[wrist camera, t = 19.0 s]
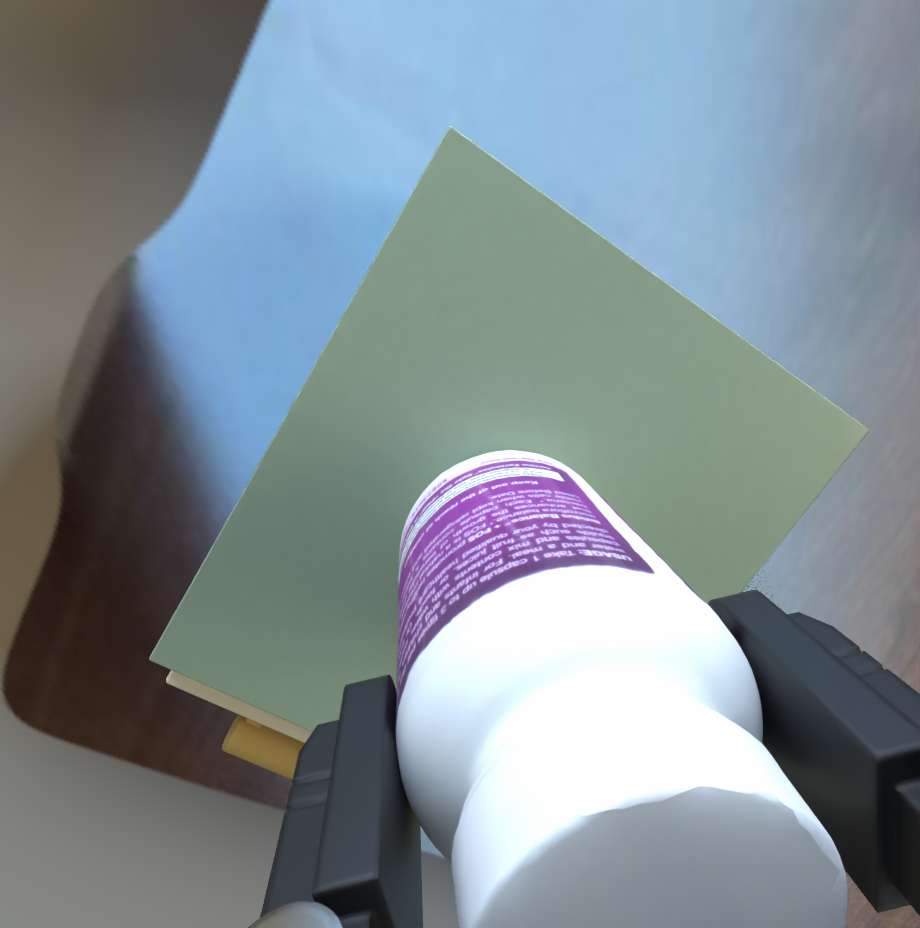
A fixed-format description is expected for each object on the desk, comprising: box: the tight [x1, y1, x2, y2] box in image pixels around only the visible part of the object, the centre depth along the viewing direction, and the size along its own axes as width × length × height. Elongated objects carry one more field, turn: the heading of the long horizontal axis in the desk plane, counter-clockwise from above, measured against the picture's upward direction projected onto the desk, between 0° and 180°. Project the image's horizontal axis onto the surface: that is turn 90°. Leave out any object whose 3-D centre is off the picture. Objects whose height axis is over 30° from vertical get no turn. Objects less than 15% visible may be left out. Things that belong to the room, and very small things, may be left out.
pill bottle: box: [396, 450, 848, 928], centre depth 10 cm, size 5×5×10 cm
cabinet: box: [149, 126, 869, 732], centre depth 20 cm, size 15×13×10 cm
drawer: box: [166, 670, 312, 780], centre depth 20 cm, size 18×11×8 cm, turn 148°
